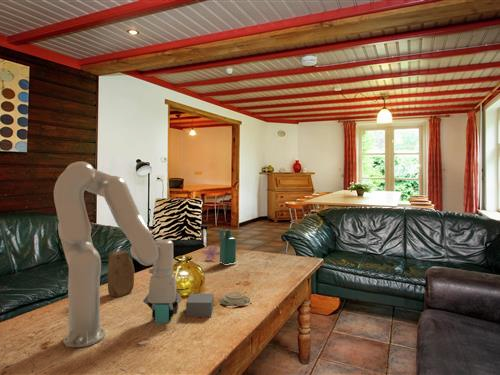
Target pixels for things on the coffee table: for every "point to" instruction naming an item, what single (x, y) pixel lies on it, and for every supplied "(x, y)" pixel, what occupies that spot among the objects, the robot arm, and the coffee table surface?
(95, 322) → the robot arm
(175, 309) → the walnut block
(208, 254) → the lily
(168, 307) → the teal block
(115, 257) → the brown rounded oval lump
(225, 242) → the green bottle
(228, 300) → the grey stepped disc
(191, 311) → the base block
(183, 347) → the coffee table surface
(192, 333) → the coffee table surface
